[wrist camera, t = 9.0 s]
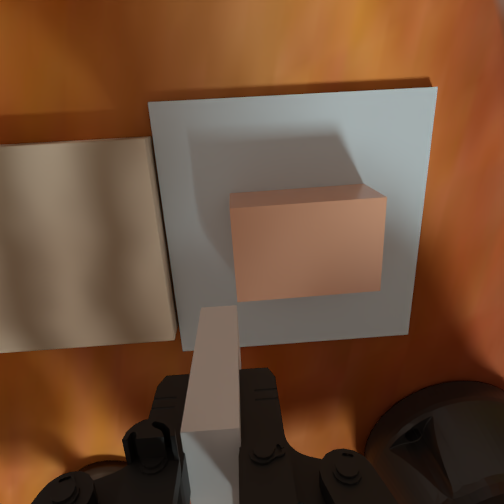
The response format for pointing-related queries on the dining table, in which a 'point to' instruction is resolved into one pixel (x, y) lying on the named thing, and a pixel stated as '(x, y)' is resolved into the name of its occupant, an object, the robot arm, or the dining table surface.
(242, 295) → the pink block
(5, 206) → the beige flat rectangular piece
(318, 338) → the mat
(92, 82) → the dining table surface
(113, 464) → the candlestick
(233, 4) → the dining table surface
